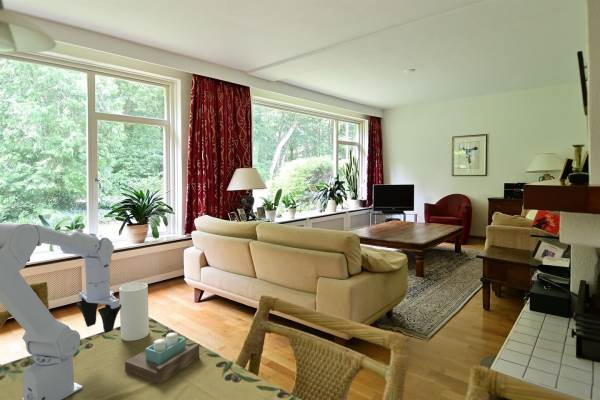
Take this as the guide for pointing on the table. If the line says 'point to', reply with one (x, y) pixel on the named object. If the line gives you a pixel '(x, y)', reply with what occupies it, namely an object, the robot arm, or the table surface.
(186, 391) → the table surface
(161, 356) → the light blue open box
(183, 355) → the brown flat block
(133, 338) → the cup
